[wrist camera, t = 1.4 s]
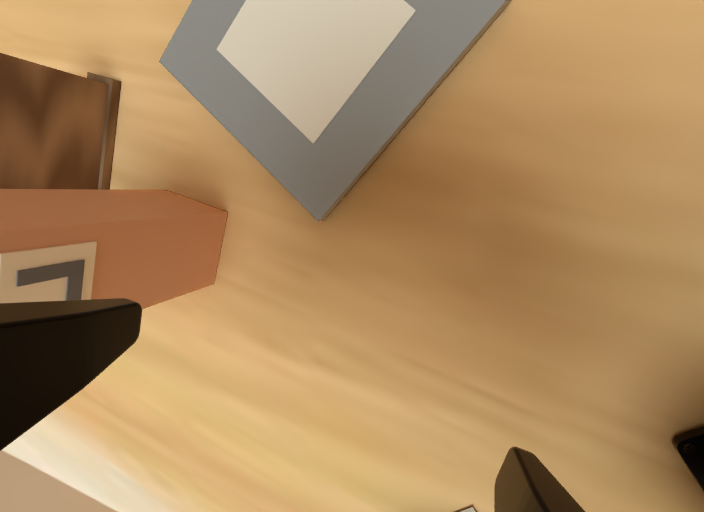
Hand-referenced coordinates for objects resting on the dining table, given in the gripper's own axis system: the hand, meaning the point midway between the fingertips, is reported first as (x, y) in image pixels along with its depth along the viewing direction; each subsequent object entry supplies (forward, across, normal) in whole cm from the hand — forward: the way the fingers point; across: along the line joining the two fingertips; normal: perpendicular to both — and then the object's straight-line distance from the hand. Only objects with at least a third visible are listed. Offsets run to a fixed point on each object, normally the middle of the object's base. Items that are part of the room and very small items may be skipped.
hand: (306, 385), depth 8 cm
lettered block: (+14, +13, +3) cm, 20 cm away
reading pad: (+14, +7, -10) cm, 19 cm away
